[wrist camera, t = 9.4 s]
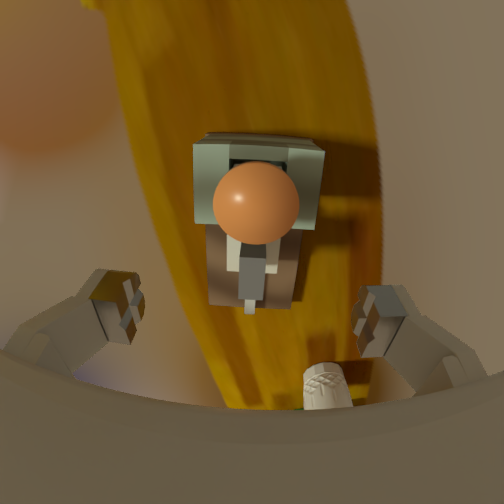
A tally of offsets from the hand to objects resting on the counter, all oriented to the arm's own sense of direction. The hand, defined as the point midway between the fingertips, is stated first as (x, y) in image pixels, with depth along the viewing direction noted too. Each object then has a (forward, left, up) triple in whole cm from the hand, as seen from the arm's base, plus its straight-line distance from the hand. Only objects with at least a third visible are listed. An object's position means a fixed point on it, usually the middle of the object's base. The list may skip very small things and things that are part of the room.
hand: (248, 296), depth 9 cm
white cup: (+33, +13, -21) cm, 41 cm away
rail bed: (+7, 0, -21) cm, 22 cm away
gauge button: (0, 0, -12) cm, 12 cm away
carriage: (+7, 0, -19) cm, 20 cm away
